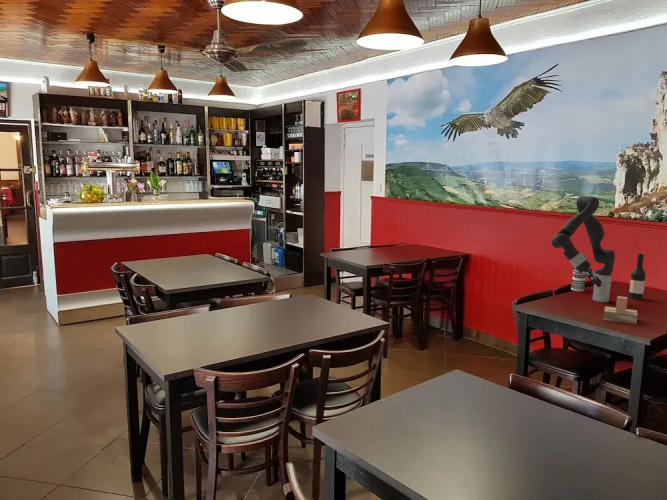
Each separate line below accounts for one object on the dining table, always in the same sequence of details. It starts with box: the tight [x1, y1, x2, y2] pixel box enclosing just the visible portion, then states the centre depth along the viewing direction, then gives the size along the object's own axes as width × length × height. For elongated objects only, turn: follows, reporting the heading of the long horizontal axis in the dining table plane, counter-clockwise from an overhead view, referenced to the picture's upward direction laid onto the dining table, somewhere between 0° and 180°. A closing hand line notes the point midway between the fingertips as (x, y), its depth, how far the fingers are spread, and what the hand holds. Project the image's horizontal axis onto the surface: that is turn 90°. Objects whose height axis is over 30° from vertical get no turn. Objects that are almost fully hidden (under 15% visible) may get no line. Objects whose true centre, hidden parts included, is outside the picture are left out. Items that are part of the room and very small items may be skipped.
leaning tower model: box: [570, 253, 588, 292], centre depth 357 cm, size 9×9×25 cm
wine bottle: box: [628, 252, 647, 301], centre depth 335 cm, size 8×8×30 cm
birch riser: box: [603, 306, 639, 325], centre depth 289 cm, size 12×16×5 cm
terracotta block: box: [615, 295, 629, 313], centre depth 286 cm, size 5×5×8 cm
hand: (600, 284), depth 290 cm, fingers open, 8 cm apart
